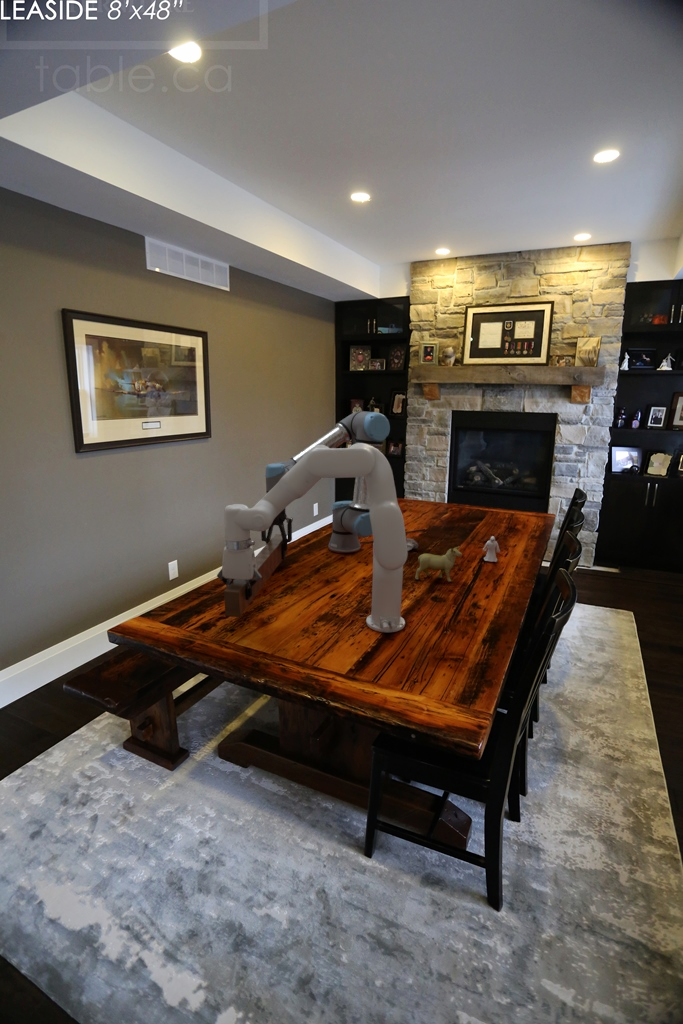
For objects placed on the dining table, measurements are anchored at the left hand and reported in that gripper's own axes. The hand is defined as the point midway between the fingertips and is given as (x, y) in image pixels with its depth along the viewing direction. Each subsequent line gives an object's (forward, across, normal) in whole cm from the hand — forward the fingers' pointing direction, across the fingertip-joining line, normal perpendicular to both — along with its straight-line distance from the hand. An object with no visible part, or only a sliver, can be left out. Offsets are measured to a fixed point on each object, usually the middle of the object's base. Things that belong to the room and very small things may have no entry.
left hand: (277, 557), depth 206 cm
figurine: (+7, -90, -31) cm, 96 cm away
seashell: (+7, -54, -40) cm, 67 cm away
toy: (+7, -65, -2) cm, 66 cm away
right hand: (-3, 0, +46) cm, 46 cm away
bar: (+1, 0, +23) cm, 23 cm away
